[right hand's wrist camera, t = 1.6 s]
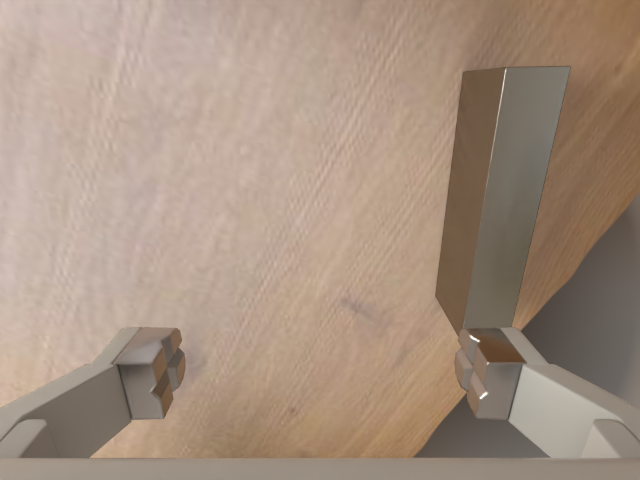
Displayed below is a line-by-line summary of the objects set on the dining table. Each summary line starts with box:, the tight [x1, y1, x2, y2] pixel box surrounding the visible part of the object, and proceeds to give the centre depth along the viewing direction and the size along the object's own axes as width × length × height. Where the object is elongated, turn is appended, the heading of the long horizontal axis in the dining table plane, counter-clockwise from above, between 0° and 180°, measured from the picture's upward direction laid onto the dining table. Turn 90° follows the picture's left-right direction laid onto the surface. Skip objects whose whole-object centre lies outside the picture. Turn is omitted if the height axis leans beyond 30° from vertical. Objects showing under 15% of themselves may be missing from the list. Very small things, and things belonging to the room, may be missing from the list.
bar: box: [435, 66, 571, 337], centre depth 36 cm, size 25×5×9 cm, turn 1°
